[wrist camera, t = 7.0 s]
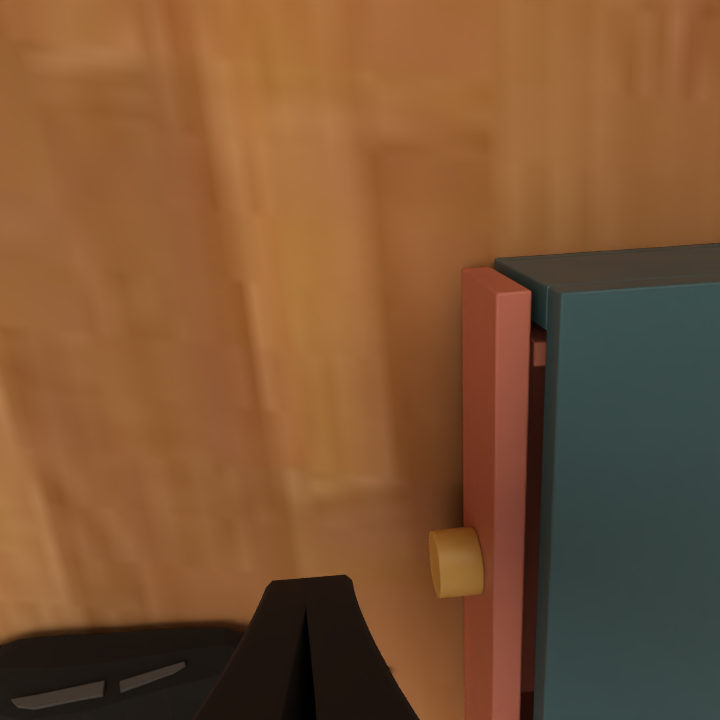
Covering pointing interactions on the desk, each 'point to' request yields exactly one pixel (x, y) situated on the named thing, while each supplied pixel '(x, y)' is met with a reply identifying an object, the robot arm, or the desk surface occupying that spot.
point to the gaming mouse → (113, 674)
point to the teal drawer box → (628, 483)
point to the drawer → (497, 497)
